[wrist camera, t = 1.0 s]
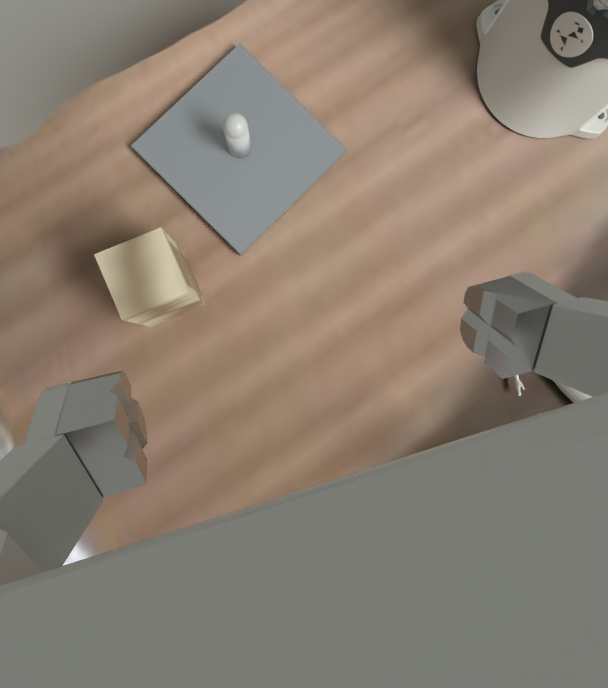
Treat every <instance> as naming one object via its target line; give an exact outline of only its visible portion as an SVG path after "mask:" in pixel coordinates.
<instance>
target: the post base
mask: <svg viewBox="0 0 608 688" xmlns="http://www.w3.org/2000/svg"><path fill="white" fill-rule="evenodd" d="M131 146H132V148H133V149H134V150H135V151H136V152H137V153H138V154H139V155H140V156H141V157H142V158H143V159H144V160H145V161H146V162H147V163H148V164H149V165H150V166H151V167H152V168H153V169H154V170H155V171H156V172H157V173H158V174H159V175H160V176H161V177H162V178H163V179H164V180H165V181H166V182H167V183H168V184H169V185H170V186H171V187H172V188H173V189H174V190H175V191H176V192H177V193H178V194H179V195H180V196H181V197H182V198H183V199H184V200H185V201H186V202H187V203H188V204H189V205H190V206H191V207H192V208H193V209H194V210H195V211H196V212H197V213H198V214H199V215H200V216H201V217H202V218H203V219H204V220H205V221H206V222H207V223H208V224H209V225H210V226H211V227H212V228H213V229H214V230H215V231H216V232H217V233H218V234H219V235H220V236H221V237H222V238H223V239H224V240H225V241H226V242H227V243H228V244H229V245H230V246H231V247H232V248H233V249H234V250H235V251H236V252H237V253H238V254H239V255H240V256H241V255H242V254H243V253H244V252H246V251H247V250H248V249H249V248H250V247H251V246H252V245H253V244H254V243H255V242H256V241H257V240H258V239H259V238H260V237H261V236H262V235H263V234H264V233H265V232H266V231H267V230H268V229H269V228H270V227H271V226H272V225H273V224H274V223H275V222H276V221H277V220H278V219H279V218H280V217H281V216H282V215H283V214H284V213H285V212H286V211H287V210H288V209H289V208H290V207H291V206H292V205H293V204H294V203H295V202H296V201H297V200H299V199H300V198H301V197H302V196H303V195H304V194H305V193H306V192H307V191H308V190H309V189H310V188H311V187H312V186H313V185H314V184H315V183H316V182H317V181H318V180H319V179H320V178H321V177H322V176H323V175H324V174H325V173H326V172H327V171H328V170H329V169H330V168H331V167H332V166H333V165H334V164H335V163H336V162H337V161H338V160H339V159H340V158H341V157H342V156H343V155H344V154H345V152H346V148H345V147H344V146H343V145H342V144H341V143H340V142H339V141H337V140H336V139H335V138H334V137H333V136H332V135H331V134H330V133H329V132H328V131H327V130H326V129H325V128H324V127H323V126H322V125H321V124H320V123H319V122H318V121H317V120H316V119H315V118H314V117H313V116H312V115H311V114H310V113H309V112H308V111H307V110H306V109H305V108H304V107H303V106H302V105H301V104H300V103H299V102H298V101H297V100H296V99H295V98H294V97H293V96H292V95H291V94H290V93H289V92H288V91H287V90H286V89H285V88H284V87H283V86H282V85H281V84H280V83H279V82H278V81H277V80H276V79H275V78H274V77H273V76H272V75H271V74H270V73H269V72H268V71H267V70H266V69H265V68H264V67H263V66H262V65H261V64H260V63H259V62H258V61H257V60H256V59H255V58H254V57H253V56H252V55H251V54H250V53H249V52H248V51H247V50H246V49H245V48H244V47H243V46H242V45H241V44H238V45H237V46H236V47H235V48H234V49H233V50H232V51H231V52H230V53H229V54H228V55H227V56H226V57H225V58H224V59H223V60H221V61H220V62H219V63H218V64H217V65H216V66H215V67H214V68H213V69H212V70H211V71H210V72H209V73H208V74H207V75H205V76H204V77H203V78H202V79H201V80H200V81H199V82H198V83H197V84H196V85H195V86H194V87H193V88H192V89H191V90H190V91H188V92H187V93H186V94H185V95H184V96H183V97H182V98H181V99H180V100H179V101H178V102H177V103H176V104H175V105H174V106H173V107H171V108H170V109H169V110H168V111H167V112H166V113H165V114H164V115H163V116H162V117H161V118H160V119H159V120H158V121H157V122H156V123H154V124H153V125H152V126H151V127H150V128H149V129H148V130H147V131H146V132H145V133H144V134H143V135H142V136H141V137H140V138H138V139H137V140H136V141H135V142H134V143H133V144H132V145H131Z"/></svg>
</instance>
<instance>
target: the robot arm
mask: <svg viewBox="0 0 608 688" xmlns="http://www.w3.org/2000/svg"><path fill="white" fill-rule="evenodd" d="M476 27H477V33H478V38H479V41H480V51H479V57H478V62H477V80H478V86H479V89H480V92H481V95H482V98H483V100H484V102H485V104H486V105H487V107H488V108H489V110H490V111H491V112H492V114H493V115H494V116H495V117H496V118H497V119H498V120H499V121H500V122H501V123H503V124H504V125H505V126H507V127H508V128H510V129H511V130H513V131H515V132H517V133H520V134H523V135H526V136H530V137H535V138H552V137H557V136H563V135H574V136H578V137H582V138H589V139H592V138H596V137H598V136H599V135H600V134H601V133H602V132H603V131H604V130H605V129H606V127H607V126H608V0H498V1H496V2H495V3H493V4H491V5H490V6H488V7H487V8H485V9H484V10H483V11H482V13H481V14H480V15H479V17H478V18H477V22H476ZM598 116H599V117H600V119H599V118H598ZM464 304H465V305H466V307H467V308H468V309H467V311H466V312H465V314H464V315H463V316H462V318H461V326H460V331H461V335H462V339H463V341H464V343H465V344H466V346H467V347H468V348H469V349H470V350H471V351H472V352H473V353H476V354H479V355H482V356H485V364H487V365H488V366H489V367H490V368H491V369H492V370H493V371H494V372H496V373H497V374H498V375H499V376H500V377H501V378H502V379H504V378H508V377H512V376H515V375H519V374H523V373H527V372H530V371H534V372H535V373H537V374H539V375H542V376H544V377H547V378H549V379H551V380H554V381H556V382H558V383H561V384H563V385H566V386H568V387H570V388H573V389H575V390H578V391H580V392H582V393H585V394H587V395H589V396H592V397H591V398H588V399H585V400H582V401H579V402H576V403H573V404H569V405H566V406H563V407H560V408H557V409H554V410H550V411H547V412H544V413H541V414H538V415H535V416H532V417H528V418H525V419H522V420H519V421H516V422H513V423H509V424H506V425H503V426H500V427H497V428H494V429H490V430H487V431H484V432H481V433H478V434H475V435H471V436H468V437H465V438H462V439H459V440H456V441H453V442H450V443H446V444H443V445H440V446H437V447H434V448H431V449H428V450H424V451H421V452H418V453H415V454H412V455H409V456H406V457H403V458H399V459H396V460H393V461H390V462H387V463H384V464H381V465H378V466H374V467H371V468H368V469H365V470H362V471H359V472H356V473H353V474H349V475H346V476H343V477H340V478H337V479H334V480H331V481H328V482H324V483H321V484H318V485H315V486H312V487H309V488H306V489H302V490H299V491H296V492H293V493H290V494H287V495H284V496H281V497H277V498H274V499H271V500H268V501H265V502H262V503H259V504H255V505H252V506H249V507H246V508H243V509H240V510H237V511H234V512H230V513H227V514H224V515H221V516H218V517H215V518H212V519H208V520H205V521H202V522H199V523H196V524H193V525H190V526H186V527H183V528H180V529H177V530H174V531H171V532H168V533H165V534H161V535H158V536H155V537H152V538H149V539H146V540H143V541H139V542H136V543H133V544H130V545H127V546H124V547H121V548H118V549H114V550H111V551H108V552H105V553H102V554H99V555H96V556H92V557H89V558H86V559H83V560H80V561H77V562H74V563H70V564H67V565H64V566H62V565H63V564H64V562H65V561H66V559H67V557H68V556H69V554H70V553H71V551H72V549H73V548H74V546H75V545H76V543H77V542H78V540H79V538H80V537H81V535H82V534H83V532H84V530H85V529H86V527H87V526H88V524H89V522H90V521H91V519H92V518H93V516H94V515H95V513H96V511H97V510H98V508H99V507H100V505H101V503H102V502H103V498H104V497H107V496H110V495H114V494H117V493H120V492H123V491H126V490H129V489H132V488H135V487H138V486H141V485H145V484H146V478H147V458H146V456H145V454H144V452H143V448H144V446H145V445H146V444H147V431H146V424H145V419H144V416H143V413H142V410H141V407H140V405H139V403H138V401H136V400H134V399H132V398H131V384H130V382H129V380H128V378H127V376H126V374H125V373H124V372H123V371H119V372H115V373H110V374H106V375H101V376H97V377H92V378H88V379H83V380H79V381H74V382H72V383H70V382H69V383H65V384H61V385H57V386H53V387H49V388H46V389H45V390H43V391H42V393H41V395H40V398H39V401H38V404H37V407H36V410H35V413H34V416H33V419H32V422H31V425H30V428H29V431H28V434H27V437H26V439H25V442H24V445H21V446H17V447H15V448H14V449H13V450H11V451H10V452H9V453H8V454H7V455H6V456H5V457H4V458H3V459H1V460H0V688H608V302H607V301H601V300H596V299H591V298H585V297H581V298H576V297H574V296H572V295H570V294H568V293H566V292H565V291H563V290H561V289H559V288H557V287H555V286H554V285H552V284H550V283H548V282H546V281H544V280H543V279H541V278H539V277H537V276H535V275H533V274H532V273H529V272H521V273H517V274H514V275H510V276H507V277H504V278H500V279H497V280H493V281H489V282H485V283H482V284H478V285H474V286H470V287H468V289H467V291H466V293H465V297H464Z"/></svg>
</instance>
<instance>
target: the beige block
mask: <svg viewBox="0 0 608 688" xmlns="http://www.w3.org/2000/svg"><path fill="white" fill-rule="evenodd" d="M94 256H95V258H96V260H97V263H98V265H99V267H100V270H101V272H102V274H103V277H104V279H105V282H106V284H107V286H108V289H109V291H110V293H111V296H112V298H113V300H114V303H115V305H116V307H117V310H118V312H119V315H120V317H121V319H122V320H124V321H128V322H132V323H136V324H141V325H145V326H149V327H152V326H155V325H157V324H159V323H162V322H164V321H167V320H169V319H171V318H174V317H176V316H179V315H181V314H183V313H186V312H188V311H191V310H193V309H195V308H198V307H200V306H203V305H205V301H204V299H203V296H202V294H201V292H200V289H199V287H198V285H197V282H196V280H195V278H194V275H193V273H192V271H191V268H190V266H189V264H188V261H187V259H186V257H185V254H184V252H183V250H182V249H181V248H180V247H179V246H178V245H177V244H176V243H175V242H174V241H173V240H172V239H171V238H170V236H169V235H168V234H167V233H166V232H165V231H164V230H163V229H162V228H158V229H156V230H153V231H151V232H148V233H146V234H143V235H141V236H138V237H136V238H133V239H131V240H129V241H126V242H124V243H121V244H119V245H116V246H114V247H111V248H109V249H106V250H104V251H101V252H99V253H96V254H94Z"/></svg>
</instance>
